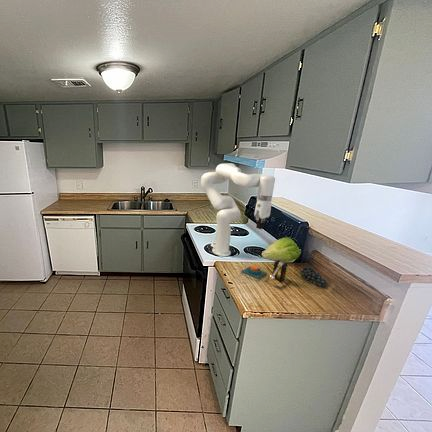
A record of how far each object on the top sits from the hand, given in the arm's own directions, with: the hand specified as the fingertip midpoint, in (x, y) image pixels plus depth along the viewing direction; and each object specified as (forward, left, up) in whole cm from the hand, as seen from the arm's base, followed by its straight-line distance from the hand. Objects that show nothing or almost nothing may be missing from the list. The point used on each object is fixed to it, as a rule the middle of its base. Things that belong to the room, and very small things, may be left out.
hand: (259, 228), depth 141 cm
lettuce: (+4, +26, -27) cm, 38 cm away
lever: (+16, -7, -20) cm, 27 cm away
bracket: (+16, -4, -26) cm, 31 cm away
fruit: (+29, +9, -27) cm, 40 cm away
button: (+4, -8, -23) cm, 24 cm away
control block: (+4, -8, -26) cm, 28 cm away
